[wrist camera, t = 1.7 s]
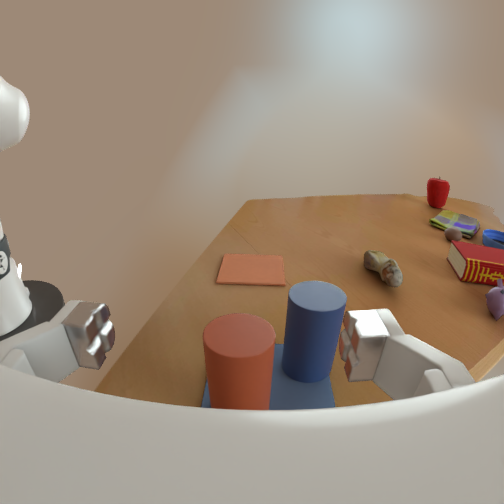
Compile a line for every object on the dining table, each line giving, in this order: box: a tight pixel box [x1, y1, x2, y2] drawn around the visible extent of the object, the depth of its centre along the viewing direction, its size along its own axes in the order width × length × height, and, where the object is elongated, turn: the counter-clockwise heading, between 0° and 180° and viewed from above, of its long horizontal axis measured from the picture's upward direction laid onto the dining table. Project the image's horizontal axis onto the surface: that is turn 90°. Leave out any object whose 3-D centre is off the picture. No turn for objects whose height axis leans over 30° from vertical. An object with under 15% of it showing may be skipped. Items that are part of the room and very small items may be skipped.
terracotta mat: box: [216, 254, 285, 286], centre depth 59 cm, size 12×12×1 cm
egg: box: [445, 227, 462, 241], centre depth 76 cm, size 6×6×4 cm
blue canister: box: [282, 281, 347, 383], centre depth 32 cm, size 6×6×10 cm
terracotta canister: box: [203, 313, 275, 410], centre depth 27 cm, size 6×6×10 cm
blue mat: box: [201, 344, 335, 410], centre depth 32 cm, size 14×14×1 cm
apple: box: [427, 178, 450, 208], centre depth 112 cm, size 10×10×14 cm
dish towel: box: [429, 210, 480, 239], centre depth 90 cm, size 18×24×3 cm
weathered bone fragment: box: [364, 250, 403, 287], centre depth 55 cm, size 5×5×15 cm
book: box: [447, 240, 504, 286], centre depth 55 cm, size 18×13×5 cm
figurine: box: [486, 279, 504, 321], centre depth 42 cm, size 5×7×12 cm
